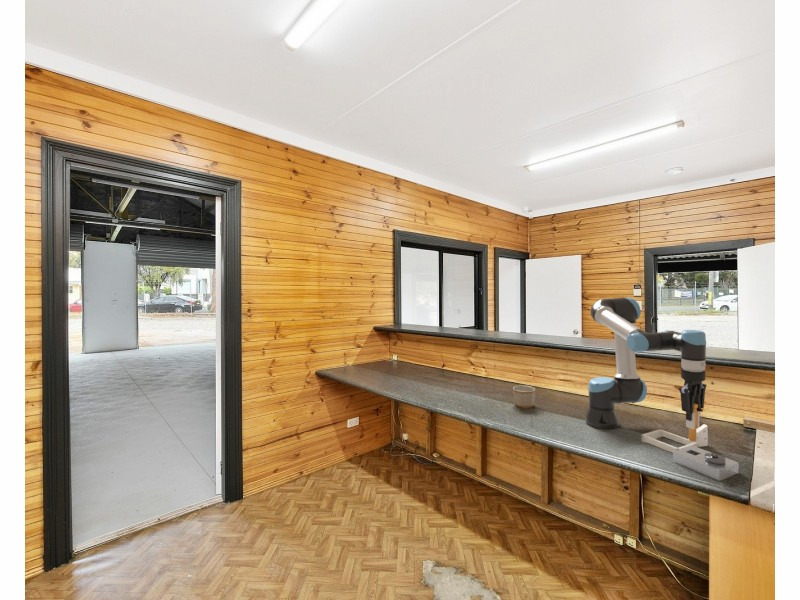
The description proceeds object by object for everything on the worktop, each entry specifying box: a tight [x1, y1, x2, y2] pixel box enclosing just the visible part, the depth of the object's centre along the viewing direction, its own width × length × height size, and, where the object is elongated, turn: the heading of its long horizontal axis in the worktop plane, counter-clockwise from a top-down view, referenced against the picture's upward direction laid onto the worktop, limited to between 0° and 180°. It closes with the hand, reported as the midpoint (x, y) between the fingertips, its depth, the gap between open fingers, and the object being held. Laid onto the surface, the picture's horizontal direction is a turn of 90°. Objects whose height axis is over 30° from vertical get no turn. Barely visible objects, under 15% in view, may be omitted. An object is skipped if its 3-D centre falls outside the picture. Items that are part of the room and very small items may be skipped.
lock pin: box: [688, 403, 698, 442], centre depth 147 cm, size 3×3×15 cm
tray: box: [640, 428, 699, 454], centre depth 163 cm, size 16×13×4 cm
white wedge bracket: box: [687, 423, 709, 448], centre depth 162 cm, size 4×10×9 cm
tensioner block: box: [672, 445, 740, 482], centre depth 144 cm, size 16×12×8 cm
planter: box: [512, 384, 536, 409], centre depth 222 cm, size 13×13×10 cm
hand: (692, 427), depth 147 cm, fingers closed on lock pin, 2 cm apart
